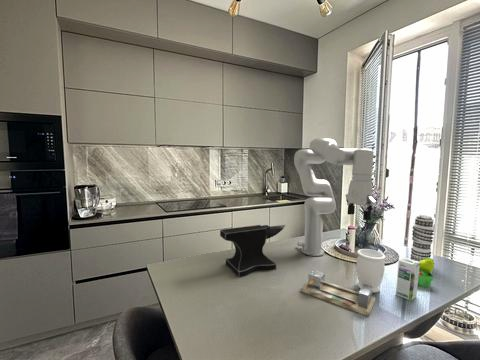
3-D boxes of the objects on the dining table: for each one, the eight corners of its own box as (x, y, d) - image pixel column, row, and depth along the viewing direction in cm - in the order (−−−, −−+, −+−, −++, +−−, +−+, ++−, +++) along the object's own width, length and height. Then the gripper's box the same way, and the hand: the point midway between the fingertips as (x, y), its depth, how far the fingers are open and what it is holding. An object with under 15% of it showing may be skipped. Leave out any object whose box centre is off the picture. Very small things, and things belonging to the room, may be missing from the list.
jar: (381, 297, 98) (385, 260, 97) (353, 289, 104) (355, 254, 102) (383, 285, 107) (386, 251, 106) (356, 278, 113) (359, 246, 111)
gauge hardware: (306, 287, 102) (307, 275, 102) (313, 279, 108) (314, 268, 108) (367, 309, 89) (368, 295, 88) (371, 299, 95) (372, 286, 94)
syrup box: (394, 294, 101) (398, 259, 99) (400, 290, 104) (404, 256, 103) (411, 301, 96) (414, 265, 94) (417, 296, 100) (420, 261, 98)
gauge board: (300, 291, 102) (300, 287, 101) (312, 279, 111) (312, 276, 111) (368, 316, 87) (369, 312, 86) (375, 300, 96) (375, 296, 96)
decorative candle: (407, 263, 131) (412, 216, 128) (410, 257, 138) (414, 213, 135) (429, 268, 125) (435, 219, 122) (431, 262, 132) (436, 216, 129)
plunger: (304, 289, 100) (304, 277, 100) (312, 281, 107) (313, 269, 107) (316, 293, 97) (317, 281, 97) (324, 284, 104) (324, 273, 104)
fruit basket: (404, 274, 119) (407, 251, 118) (427, 277, 116) (429, 254, 115) (412, 285, 108) (414, 260, 107) (437, 289, 105) (440, 264, 104)
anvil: (228, 280, 109) (229, 236, 107) (216, 266, 122) (216, 227, 120) (293, 265, 125) (294, 227, 123) (275, 254, 138) (277, 220, 136)
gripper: (341, 175, 115) (338, 212, 117) (369, 180, 98) (365, 222, 100) (355, 175, 117) (352, 212, 118) (385, 180, 100) (381, 222, 102)
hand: (358, 217), depth 109 cm, fingers open, 9 cm apart
